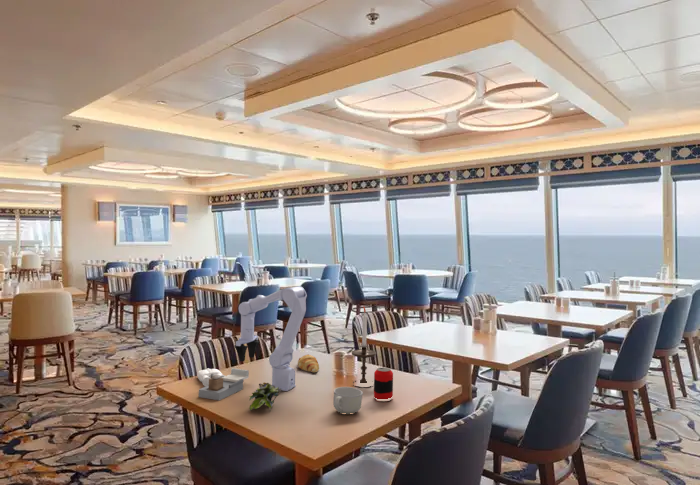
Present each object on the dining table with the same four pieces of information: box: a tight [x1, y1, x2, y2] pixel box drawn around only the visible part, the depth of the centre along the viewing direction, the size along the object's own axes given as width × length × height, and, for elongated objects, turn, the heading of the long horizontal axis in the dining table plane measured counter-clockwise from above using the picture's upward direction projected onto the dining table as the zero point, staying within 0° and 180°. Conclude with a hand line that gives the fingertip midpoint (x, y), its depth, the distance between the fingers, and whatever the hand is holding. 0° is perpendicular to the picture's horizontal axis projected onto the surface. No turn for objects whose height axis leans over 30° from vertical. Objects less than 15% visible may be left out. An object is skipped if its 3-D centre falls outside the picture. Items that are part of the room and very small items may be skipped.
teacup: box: [332, 386, 364, 414], centre depth 179 cm, size 14×11×8 cm
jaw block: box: [209, 375, 223, 391], centre depth 196 cm, size 4×4×8 cm
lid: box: [222, 367, 250, 382], centre depth 208 cm, size 8×8×3 cm
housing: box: [198, 376, 245, 401], centre depth 199 cm, size 11×16×4 cm, turn 158°
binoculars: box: [196, 367, 226, 387], centre depth 216 cm, size 10×16×5 cm, turn 29°
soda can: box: [373, 367, 394, 399], centre depth 195 cm, size 8×8×12 cm
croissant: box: [297, 354, 320, 373], centre depth 240 cm, size 21×10×8 cm
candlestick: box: [351, 306, 377, 383], centre depth 214 cm, size 11×11×35 cm
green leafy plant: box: [248, 382, 282, 412], centre depth 182 cm, size 11×11×12 cm
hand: (246, 359), depth 216 cm, fingers open, 7 cm apart
